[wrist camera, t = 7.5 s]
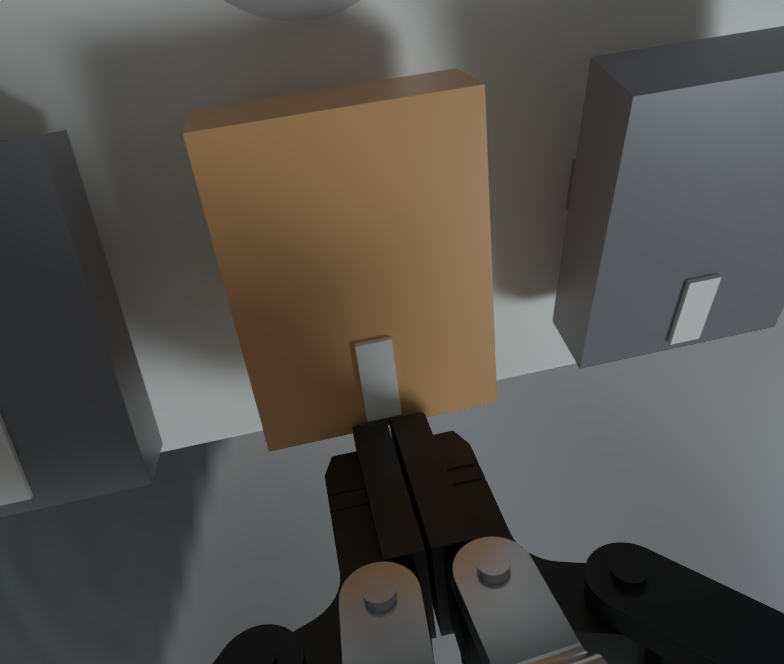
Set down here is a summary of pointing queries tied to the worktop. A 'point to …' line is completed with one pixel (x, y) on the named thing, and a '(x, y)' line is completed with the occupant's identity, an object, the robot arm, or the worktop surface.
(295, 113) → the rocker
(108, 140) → the power strip
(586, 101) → the block
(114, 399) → the block
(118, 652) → the worktop surface
